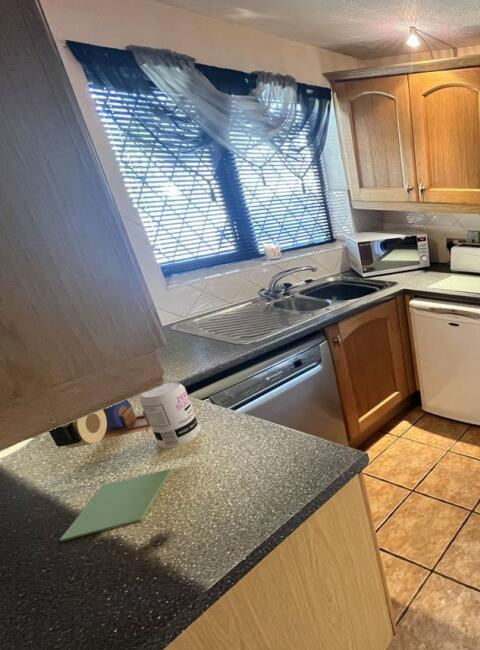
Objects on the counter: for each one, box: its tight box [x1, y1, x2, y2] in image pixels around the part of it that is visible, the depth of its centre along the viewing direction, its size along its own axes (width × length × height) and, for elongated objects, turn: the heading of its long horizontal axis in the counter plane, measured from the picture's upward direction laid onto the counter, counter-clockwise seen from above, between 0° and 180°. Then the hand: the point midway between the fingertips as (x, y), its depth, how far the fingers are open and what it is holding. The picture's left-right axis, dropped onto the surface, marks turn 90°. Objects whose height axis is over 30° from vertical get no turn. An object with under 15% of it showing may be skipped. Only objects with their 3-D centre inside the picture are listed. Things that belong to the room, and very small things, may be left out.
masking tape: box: [65, 410, 107, 449], centre depth 72 cm, size 3×8×8 cm, turn 21°
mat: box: [59, 468, 172, 543], centre depth 79 cm, size 12×14×1 cm
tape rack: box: [101, 406, 151, 440], centre depth 101 cm, size 10×9×5 cm
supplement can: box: [139, 380, 201, 449], centre depth 94 cm, size 8×8×15 cm
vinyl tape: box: [106, 399, 132, 430], centre depth 99 cm, size 3×8×8 cm, turn 21°
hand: (84, 429), depth 72 cm, fingers closed on masking tape, 7 cm apart
